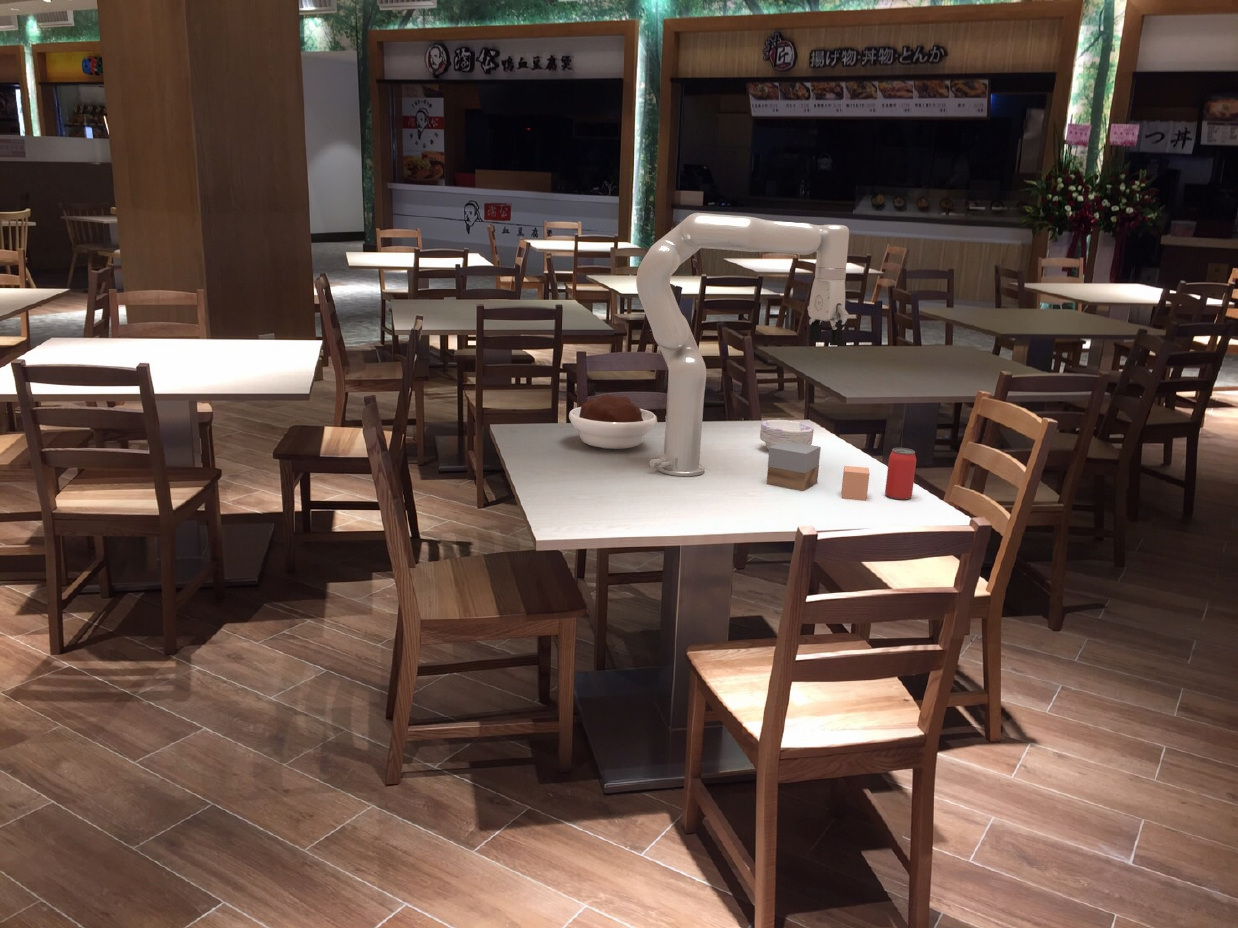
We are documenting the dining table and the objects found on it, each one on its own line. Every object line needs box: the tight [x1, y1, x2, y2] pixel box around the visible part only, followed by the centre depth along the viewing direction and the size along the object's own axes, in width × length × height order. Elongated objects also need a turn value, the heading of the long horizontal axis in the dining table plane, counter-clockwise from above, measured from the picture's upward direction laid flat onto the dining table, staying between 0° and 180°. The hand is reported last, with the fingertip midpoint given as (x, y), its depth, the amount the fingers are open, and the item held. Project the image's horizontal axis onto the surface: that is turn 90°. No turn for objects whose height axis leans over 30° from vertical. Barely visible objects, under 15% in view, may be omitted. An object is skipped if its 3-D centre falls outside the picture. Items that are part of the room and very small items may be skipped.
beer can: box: [884, 447, 917, 501], centre depth 256 cm, size 7×7×12 cm
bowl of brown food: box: [568, 394, 657, 450], centre depth 294 cm, size 25×25×15 cm
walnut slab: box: [766, 465, 820, 492], centre depth 264 cm, size 10×10×5 cm
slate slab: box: [767, 441, 821, 473], centre depth 263 cm, size 10×10×5 cm
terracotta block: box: [840, 465, 870, 502], centre depth 255 cm, size 6×6×7 cm
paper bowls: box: [759, 419, 815, 450], centre depth 299 cm, size 15×15×8 cm
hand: (824, 342), depth 263 cm, fingers open, 9 cm apart
